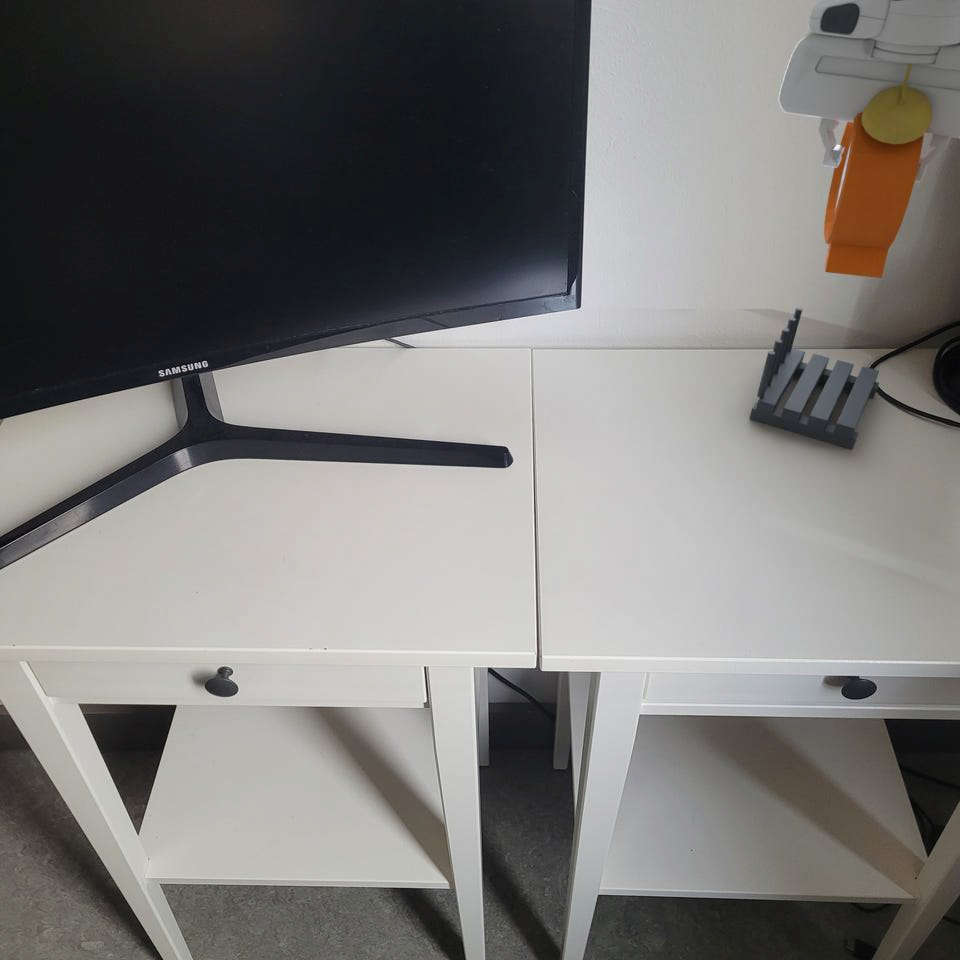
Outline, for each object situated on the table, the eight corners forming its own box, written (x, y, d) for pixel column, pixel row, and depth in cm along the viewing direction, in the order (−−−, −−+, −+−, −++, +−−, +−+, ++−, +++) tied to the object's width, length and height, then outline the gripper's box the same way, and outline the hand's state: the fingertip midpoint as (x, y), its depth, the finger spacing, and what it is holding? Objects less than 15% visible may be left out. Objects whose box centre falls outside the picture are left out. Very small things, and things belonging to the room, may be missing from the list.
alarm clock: (819, 227, 91) (869, 26, 79) (877, 232, 90) (938, 29, 77) (819, 278, 82) (876, 59, 69) (884, 285, 80) (955, 63, 67)
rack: (876, 391, 103) (899, 328, 97) (851, 450, 94) (875, 385, 88) (780, 366, 108) (797, 304, 102) (748, 419, 98) (764, 355, 93)
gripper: (1055, 18, 69) (990, 181, 78) (810, -4, 78) (777, 146, 86) (1051, 33, 65) (983, 203, 74) (793, 8, 73) (760, 164, 82)
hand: (870, 172), depth 80 cm, fingers closed on alarm clock, 6 cm apart
